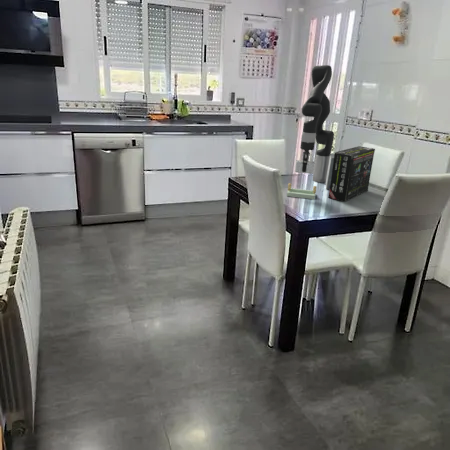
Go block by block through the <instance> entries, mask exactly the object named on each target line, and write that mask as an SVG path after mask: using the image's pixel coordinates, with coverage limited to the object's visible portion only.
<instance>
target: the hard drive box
mask: <svg viewBox="0 0 450 450" xmlns="http://www.w3.org/2000/svg"><path fill="white" fill-rule="evenodd" d="M334 154H335V153H331V154H330V158H329V165H328V171H327V177H326V182H325V190H330V183H331V176H332V169H333V162H334Z"/></svg>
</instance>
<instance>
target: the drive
mask: <svg viewBox="0 0 450 450" xmlns="http://www.w3.org/2000/svg"><path fill="white" fill-rule="evenodd" d="M302 163H303V161H302V159H301V160H300V159H299V160H298V159H297V160H296V159H295V164H294V165H295V166H294V172H295V173H300V174H301V173H302V174H311V175H313V173H314V166H315V160H314V161H312V160H309V161H308V162H307V168H306V172H302V167H303V164H302ZM304 163H306V161H304Z"/></svg>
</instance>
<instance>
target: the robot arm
mask: <svg viewBox="0 0 450 450" xmlns="http://www.w3.org/2000/svg"><path fill="white" fill-rule="evenodd" d="M332 69H333V68H332V66H331V65H329V64H325V65H314V66H313V67H312V68H311V82H312V89H311V91H310V93H309V97H308V98H307V100H306V101H305V102H304V104H303V105H302V107H301V114H302V115H303V116H304V117H309V118H310V117H311V118H313V119H312V120H306V121H304V122H303V126H302V134H301V138H300V139H301V141H300V150H304V151H303V152H302V158H301V161H303V163H302V164H303V167H302V172H306V168H307V162H308V161H310V156H311V152H310V151H314V150H315V143H316V144H318V145H323V146H324V147H323V148H320V149H317V150H316V151H315V152H316V153H315V159H314V163H315V164H314V172H313V174H312V181H313V182H317V183H326V177H327V171H328V165H329V158H330V154H332V150H333V144H334V141H335V140H334V139H335V133H334V131H332V130H327V129H324V126H323V125H324V123H325V122H326V120H327V119H328V117H329V115H330V114H331V102H330V99H329V97H328V96H327V95H326V93H325V91H326V89H327V88H328V86H329V83H331V80H332V76H333V70H332ZM304 161H306V163H304Z"/></svg>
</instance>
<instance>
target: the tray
mask: <svg viewBox="0 0 450 450" xmlns="http://www.w3.org/2000/svg"><path fill="white" fill-rule="evenodd" d="M316 194H317V186H316V185H314V186H313V188H312V190H311V189H303V188H302V189H301V188H294V187H293V188H292V183H290V182H289V183H288V184H287V192H286V197H293V198H298V199H299V198H302V199H308V200H316Z"/></svg>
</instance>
